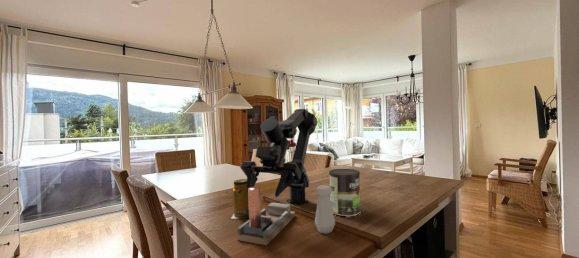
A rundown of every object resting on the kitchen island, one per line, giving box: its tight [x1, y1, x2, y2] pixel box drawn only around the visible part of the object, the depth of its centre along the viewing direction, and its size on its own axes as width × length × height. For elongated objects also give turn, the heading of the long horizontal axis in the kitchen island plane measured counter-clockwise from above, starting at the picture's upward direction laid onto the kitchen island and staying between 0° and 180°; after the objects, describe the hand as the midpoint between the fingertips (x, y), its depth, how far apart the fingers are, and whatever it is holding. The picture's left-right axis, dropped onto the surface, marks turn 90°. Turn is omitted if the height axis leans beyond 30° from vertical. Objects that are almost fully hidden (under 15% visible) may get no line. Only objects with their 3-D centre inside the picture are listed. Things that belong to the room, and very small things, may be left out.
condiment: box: [230, 178, 249, 220], centre depth 88 cm, size 7×8×12 cm
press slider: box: [243, 186, 273, 236], centre depth 71 cm, size 6×6×12 cm
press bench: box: [236, 202, 296, 246], centre depth 77 cm, size 21×9×4 cm, turn 157°
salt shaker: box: [314, 184, 336, 234], centre depth 73 cm, size 6×6×13 cm
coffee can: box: [328, 168, 361, 216], centre depth 87 cm, size 10×10×14 cm
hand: (261, 194), depth 73 cm, fingers open, 9 cm apart
